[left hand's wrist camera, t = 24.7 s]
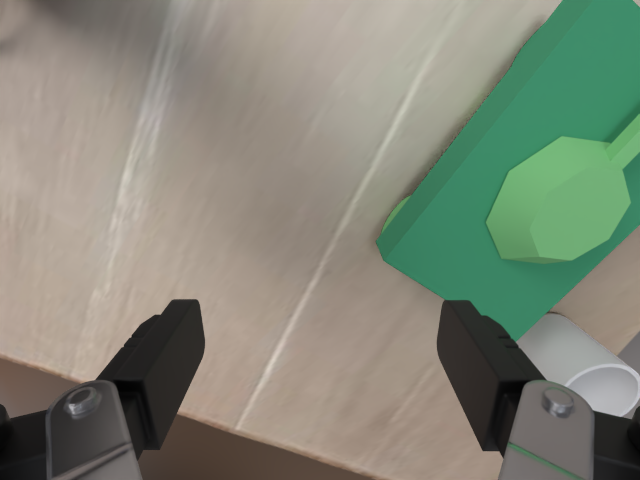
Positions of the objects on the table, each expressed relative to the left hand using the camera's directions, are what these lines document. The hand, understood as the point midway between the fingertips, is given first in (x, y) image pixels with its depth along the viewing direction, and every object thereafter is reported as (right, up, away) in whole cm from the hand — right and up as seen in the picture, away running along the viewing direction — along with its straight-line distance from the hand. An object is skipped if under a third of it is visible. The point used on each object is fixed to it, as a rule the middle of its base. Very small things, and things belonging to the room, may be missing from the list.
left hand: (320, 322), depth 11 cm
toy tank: (+23, +13, +27) cm, 38 cm away
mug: (+29, -11, +36) cm, 47 cm away
